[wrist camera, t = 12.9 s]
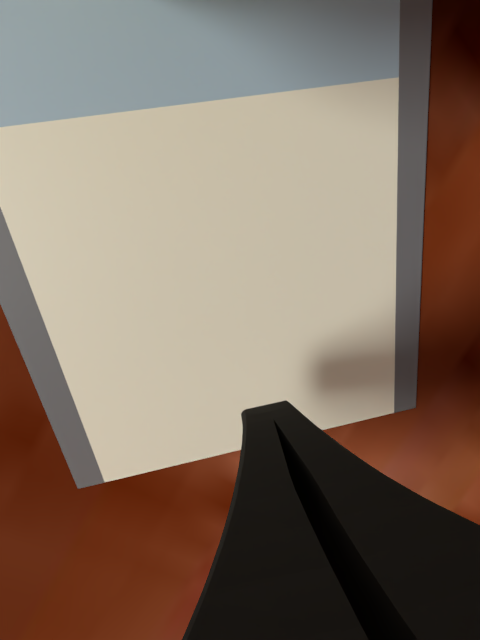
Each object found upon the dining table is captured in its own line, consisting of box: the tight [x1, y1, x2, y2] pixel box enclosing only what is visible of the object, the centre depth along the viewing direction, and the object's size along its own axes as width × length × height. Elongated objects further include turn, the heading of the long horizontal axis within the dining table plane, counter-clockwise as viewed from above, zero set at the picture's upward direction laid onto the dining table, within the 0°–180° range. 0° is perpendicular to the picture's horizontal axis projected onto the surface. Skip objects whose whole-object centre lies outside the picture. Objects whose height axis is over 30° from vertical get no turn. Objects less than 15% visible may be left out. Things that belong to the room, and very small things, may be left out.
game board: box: [0, 0, 433, 489], centre depth 9 cm, size 14×24×1 cm, turn 9°
